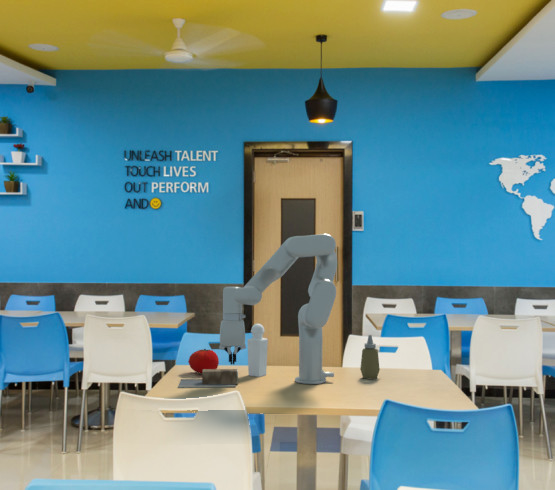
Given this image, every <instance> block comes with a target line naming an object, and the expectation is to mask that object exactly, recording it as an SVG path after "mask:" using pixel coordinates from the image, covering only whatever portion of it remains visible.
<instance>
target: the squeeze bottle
mask: <svg viewBox="0 0 555 490" xmlns="http://www.w3.org/2000/svg"><path fill="white" fill-rule="evenodd" d="M380 370H381V369H380V358H379V350H378V349H377V348H376V343H374V341H373V337H372V334H368V336H367V342H366V343H364V348H362V351H361V359H360V373H361V376H362V378H363V379H365V378H366V379H365V380H376V379H378V376H379V373H380Z"/></svg>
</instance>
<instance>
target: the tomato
mask: <svg viewBox="0 0 555 490" xmlns="http://www.w3.org/2000/svg"><path fill="white" fill-rule="evenodd" d="M219 359H220V358H219V356H218V354H217V353H216V352H215V351H214V350H212V349H206V348H203V349H198V350H195V351H194V352H192V353H191V354H190V356H189V359H188V365H189V367H190V369H191V370H193V371H194V372H196V373H198V374H202V371H203V369H218V366H219V363H220V362H219V361H220V360H219Z"/></svg>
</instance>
